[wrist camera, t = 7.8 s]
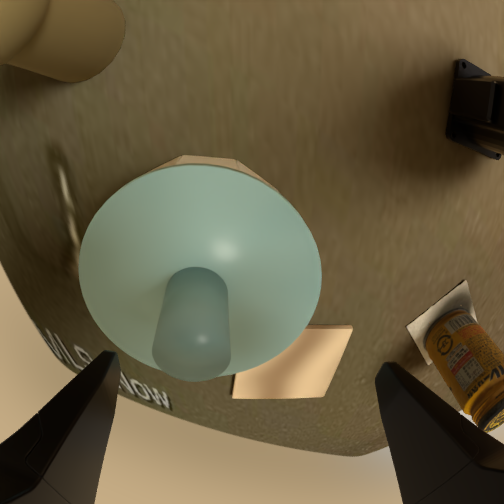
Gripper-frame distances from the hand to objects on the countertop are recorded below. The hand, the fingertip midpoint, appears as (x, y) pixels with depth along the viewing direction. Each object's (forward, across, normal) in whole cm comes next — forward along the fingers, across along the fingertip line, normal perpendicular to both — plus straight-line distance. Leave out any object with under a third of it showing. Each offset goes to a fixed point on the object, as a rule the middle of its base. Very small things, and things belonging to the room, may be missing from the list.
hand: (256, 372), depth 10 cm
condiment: (+13, -22, +8) cm, 26 cm away
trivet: (+12, -6, +12) cm, 18 cm away
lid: (+8, +2, +2) cm, 8 cm away
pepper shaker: (+12, +11, -12) cm, 20 cm away
